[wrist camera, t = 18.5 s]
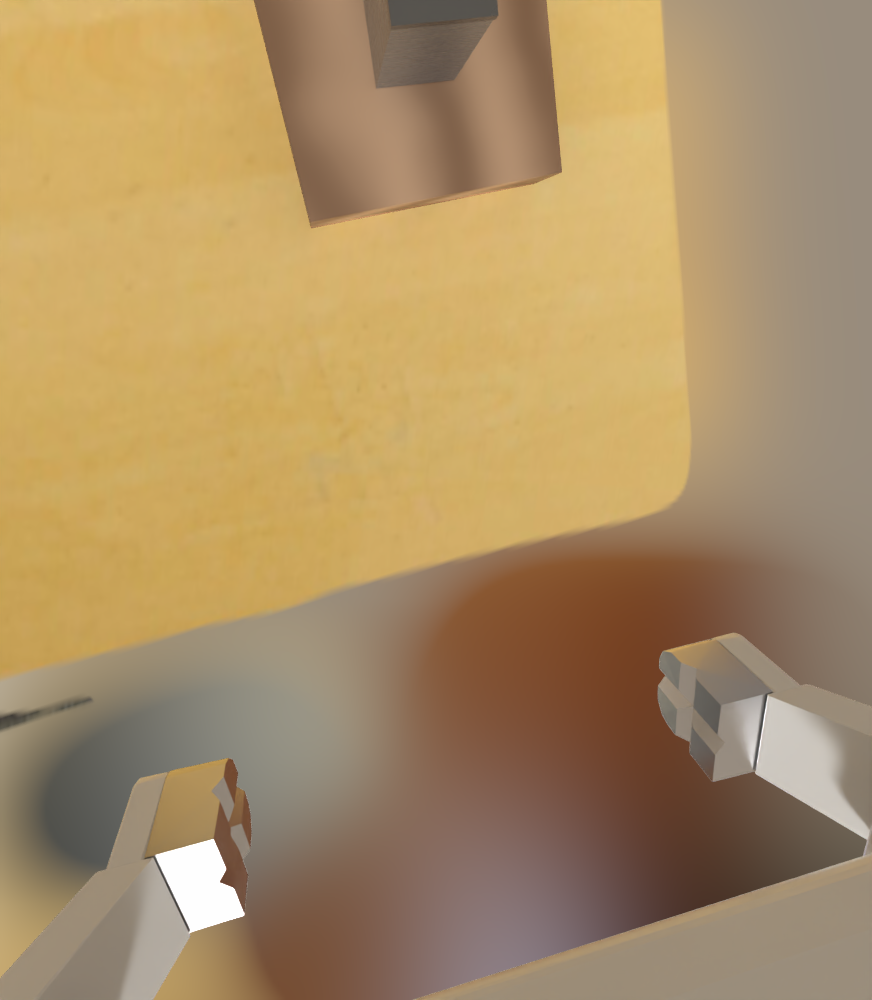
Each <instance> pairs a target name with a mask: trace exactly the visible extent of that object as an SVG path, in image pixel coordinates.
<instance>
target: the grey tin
mask: <svg viewBox="0 0 872 1000" xmlns="http://www.w3.org/2000/svg"><path fill="white" fill-rule="evenodd" d="M363 2H364V9H365V16H366V23H367V30H368V37H369V43H370V50H371V57H372V64H373V71H374V78H375V85H376V89H378V88H387V87H397V86H406V85H415V84H424V83H433V82H442V81H451V80H455V79H456V77H457V75H458V74H459V72H460V71H461V69H462V68H463V66H464V65H465V63H466V61H467V60H468V58H469V57H470V55H471V54H472V52H473V51H474V49H475V47H476V46H477V44H478V43H479V41H480V40H481V38H482V37H483V35H484V33H485V32H486V30H487V29H488V27H489V26H490V24H491V23H492V21H493V20H496V18H497V17H498V3H497V0H363Z"/></svg>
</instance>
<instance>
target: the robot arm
mask: <svg viewBox="0 0 872 1000" xmlns="http://www.w3.org/2000/svg"><path fill="white" fill-rule="evenodd" d="M659 668H660V669H661V671H662V672H663V673H664V674H665V677H664V678H663V680H662V681H661V683H660V684H659V685H658V702H659V705H660V709H661V712H662V715H663V717H664V719H665V721H666V722H667V724H668V726H669V727H670V728H671V729H672V731H673V732H674V734H675V735H677V736H679V737H681V738H683V739H685V740H687V741H689V742H690V754H691V755H692V757H693V758H694V759H695V761H696V762H697V763H698V764H699V766H700V767H701V768H702V769H703V771H704V772H705V773H706V774H707V776H708V777H709V778H710V780H711V781H712V782H714V781H718V780H722V779H726V778H730V777H734V776H738V775H742V774H746V773H750V772H754V771H756V773H755V774H757V775H759V776H760V777H762V778H764V779H765V780H767V781H769V782H770V783H772V784H774V785H776V786H777V787H779V788H781V789H782V790H784V791H786V792H787V793H789V794H791V795H792V796H794V797H796V798H797V799H799V800H801V801H803V802H804V803H806V804H807V805H809V806H811V807H813V808H814V809H816V810H818V811H819V812H821V813H823V814H824V815H826V816H828V817H829V818H831V819H833V820H835V821H836V822H838V823H840V824H841V825H843V826H845V827H847V828H848V829H850V830H851V831H853V832H855V833H856V834H858V835H860V836H862V837H863V838H865V839H867V843H866V847H865V851H864V854H863V856H862V857H859V858H856V859H853V860H850V861H846V862H843V863H840V864H837V865H834V866H831V867H828V868H824V869H821V870H818V871H815V872H812V873H809V874H806V875H803V876H799V877H796V878H793V879H790V880H787V881H784V882H780V883H777V884H774V885H771V886H768V887H765V888H762V889H759V890H755V891H753V892H749V893H746V894H743V895H740V896H737V897H734V898H730V899H727V900H724V901H721V902H718V903H715V904H712V905H708V906H706V907H703V908H699V909H696V910H693V911H690V912H687V913H684V914H680V915H677V916H674V917H671V918H668V919H665V920H662V921H659V922H655V923H653V924H649V925H646V926H643V927H640V928H637V929H633V930H631V931H627V932H624V933H621V934H618V935H615V936H612V937H609V938H605V939H602V940H599V941H596V942H593V943H590V944H586V945H583V946H580V947H577V948H574V949H571V950H568V951H565V952H561V953H558V954H555V955H552V956H549V957H546V958H543V959H539V960H536V961H533V962H530V963H527V964H524V965H521V966H517V967H514V968H511V969H508V970H505V971H502V972H499V973H496V974H492V975H490V976H486V977H483V978H480V979H477V980H474V981H470V982H467V983H464V984H461V985H458V986H455V987H452V988H449V989H445V990H442V991H439V992H436V993H433V994H430V995H427V996H423V997H420V998H417V999H414V1000H872V707H871V706H868V705H865V704H863V703H860V702H857V701H854V700H851V699H849V698H846V697H843V696H840V695H837V694H835V693H832V692H829V691H826V690H823V689H820V688H818V687H815V686H812V685H809V684H807V685H802V686H800V685H799V684H798V683H797V682H796V681H794V680H793V679H792V678H791V677H790V676H789V675H787V674H786V673H785V672H784V671H782V670H781V669H780V668H779V667H778V666H777V665H776V664H774V663H773V662H772V661H771V660H770V659H768V658H767V657H766V656H765V655H764V654H763V653H762V652H760V651H759V650H758V649H757V648H755V647H754V646H753V645H752V644H751V643H750V642H749V641H747V640H746V639H745V638H744V637H743V636H741V635H739V634H736V633H731V634H727V635H724V636H720V637H715V638H712V639H710V640H704V641H701V642H697V643H693V644H689V645H686V646H681V647H677V648H673V649H669V650H665V651H663V652H662V654H661V656H660V663H659ZM237 778H238V771H237V769H236V766H235V764H234V761H233V759H230V758H226V759H222V760H218V761H213V762H208V763H204V764H199V765H195V766H190V767H186V768H181V769H176V770H172V771H170V772H167V773H161V774H157V775H152V776H148V777H143V778H140V779H139V780H138V781H137V783H136V784H135V785H134V787H133V790H132V792H131V795H130V798H129V801H128V804H127V807H126V811H125V813H124V817H123V820H122V823H121V826H120V829H119V832H118V835H117V838H116V841H115V844H114V847H113V850H112V853H111V856H110V860H109V863H108V865H107V868H106V870H104V871H100V872H96V873H95V874H94V875H93V877H92V878H91V879H90V880H89V881H88V882H87V883H86V884H85V885H84V887H83V888H82V889H81V890H80V891H79V892H78V893H77V894H76V895H75V896H74V898H73V899H72V900H71V901H70V902H69V903H68V904H67V905H66V906H65V907H64V909H63V910H62V911H61V912H60V913H59V914H58V915H57V916H56V917H55V918H54V920H53V921H52V922H51V923H50V924H49V925H48V926H47V927H46V928H45V929H44V931H43V932H42V933H41V934H40V935H39V936H38V937H37V938H36V939H35V940H34V942H33V943H32V944H31V945H30V946H29V947H28V948H27V949H26V950H25V952H24V953H23V954H22V955H21V956H20V957H19V958H18V959H17V960H16V962H15V963H14V964H13V965H12V966H11V967H10V968H9V969H8V970H7V971H6V972H5V973H4V975H3V976H2V977H1V978H0V1000H153V999H154V997H155V995H156V994H157V992H158V990H159V988H160V987H161V985H162V983H163V982H164V980H165V978H166V977H167V975H168V973H169V971H170V969H171V968H172V966H173V965H174V963H175V961H176V959H177V958H178V956H179V954H180V952H181V951H182V949H183V947H184V946H185V944H186V942H187V941H188V939H189V937H190V934H189V933H190V932H192V931H196V930H199V929H202V928H205V927H209V926H212V925H214V924H218V923H221V922H224V921H227V920H231V919H234V918H237V917H240V916H243V915H244V913H245V903H246V893H247V882H248V873H247V870H246V867H245V865H244V862H243V859H244V858H245V856H246V855H247V854H248V852H249V851H250V849H251V837H252V828H251V813H250V808H249V803H248V799H247V796H246V793H245V791H244V790H242V789H240V788H238V787H237Z"/></svg>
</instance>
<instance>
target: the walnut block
mask: <svg viewBox="0 0 872 1000" xmlns="http://www.w3.org/2000/svg"><path fill="white" fill-rule="evenodd" d="M254 3H255V7H256V11H257V15H258V19H259V23H260V27H261V31H262V35H263V39H264V43H265V47H266V51H267V55H268V59H269V63H270V67H271V71H272V74H273V78H274V82H275V86H276V90H277V94H278V98H279V102H280V106H281V110H282V114H283V118H284V122H285V126H286V130H287V134H288V138H289V142H290V146H291V150H292V154H293V158H294V162H295V166H296V170H297V174H298V178H299V182H300V186H301V190H302V194H303V198H304V202H305V206H306V210H307V214H308V218H309V222H310V226H311V228H315V227H320V226H325V225H330V224H335V223H340V222H345V221H350V220H355V219H360V218H365V217H370V216H375V215H380V214H385V213H390V212H395V211H400V210H405V209H410V208H415V207H420V206H425V205H430V204H435V203H440V202H445V201H450V200H455V199H460V198H465V197H470V196H475V195H480V194H485V193H490V192H495V191H500V190H505V189H510V188H515V187H520V186H525V185H530V184H534V183H537V182H539V181H542V180H544V179H546V178H549V177H551V176H554V175H556V174H559V173H561V172H562V168H561V157H560V146H559V135H558V124H557V113H556V102H555V90H554V79H553V68H552V57H551V46H550V35H549V24H548V13H547V2H546V0H497V3H498V17H497V18H496V20H493V21H492V23H491V24H490V26H489V27H488V29H487V30H486V32H485V33H484V35H483V37H482V38H481V40H480V41H479V43H478V44H477V46H476V47H475V49H474V51H473V52H472V54H471V55H470V57H469V58H468V60H467V61H466V63H465V65H464V66H463V68H462V69H461V71H460V72H459V74H458V75H457V77H456V79H455V80H451V81H442V82H433V83H424V84H415V85H406V86H397V87H387V88H378V89H376V85H375V78H374V71H373V64H372V57H371V50H370V43H369V37H368V30H367V23H366V16H365V9H364V2H363V0H254Z"/></svg>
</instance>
